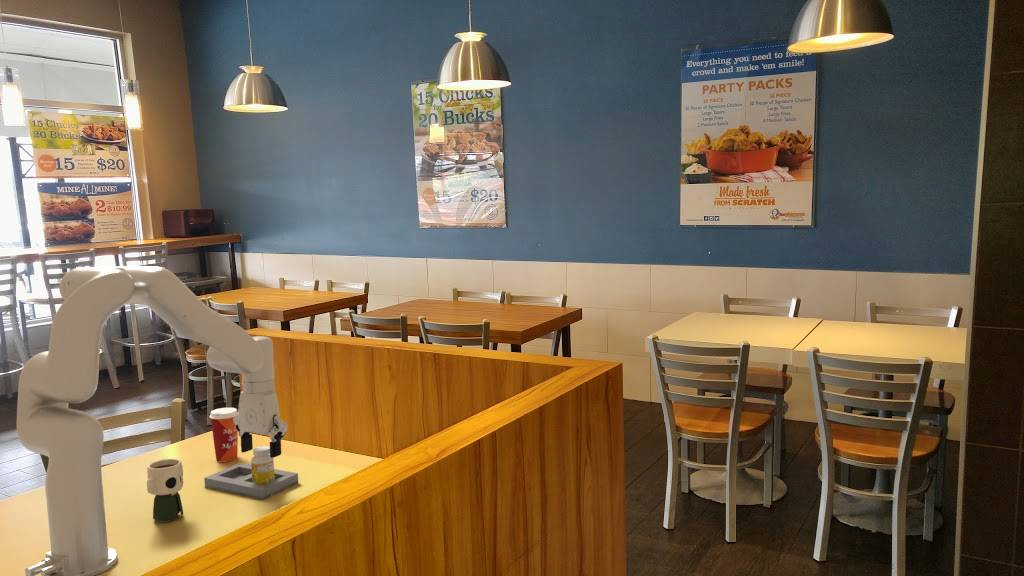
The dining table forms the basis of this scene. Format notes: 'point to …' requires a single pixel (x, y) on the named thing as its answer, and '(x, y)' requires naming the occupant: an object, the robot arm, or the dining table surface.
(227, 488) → the drink carrier
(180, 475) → the character mug
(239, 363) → the robot arm
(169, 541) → the dining table surface
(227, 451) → the paper cup
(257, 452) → the supplement bottle
